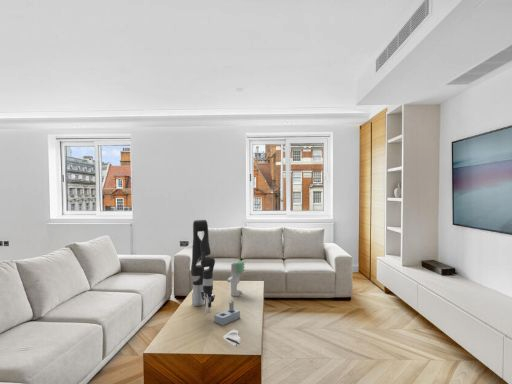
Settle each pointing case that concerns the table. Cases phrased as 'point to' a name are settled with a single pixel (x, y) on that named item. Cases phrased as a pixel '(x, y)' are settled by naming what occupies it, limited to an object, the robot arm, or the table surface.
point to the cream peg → (207, 307)
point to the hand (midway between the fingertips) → (207, 306)
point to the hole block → (226, 316)
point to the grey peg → (231, 306)
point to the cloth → (232, 337)
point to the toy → (235, 277)
